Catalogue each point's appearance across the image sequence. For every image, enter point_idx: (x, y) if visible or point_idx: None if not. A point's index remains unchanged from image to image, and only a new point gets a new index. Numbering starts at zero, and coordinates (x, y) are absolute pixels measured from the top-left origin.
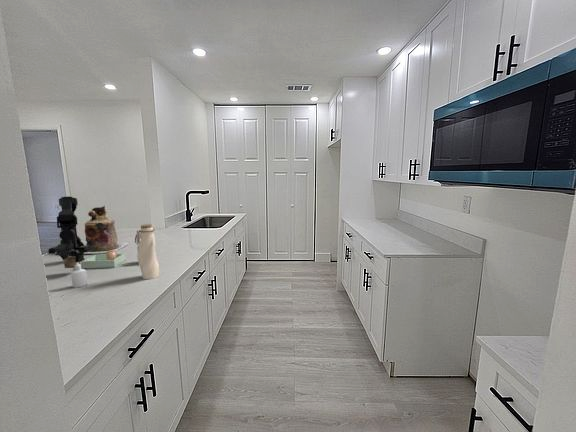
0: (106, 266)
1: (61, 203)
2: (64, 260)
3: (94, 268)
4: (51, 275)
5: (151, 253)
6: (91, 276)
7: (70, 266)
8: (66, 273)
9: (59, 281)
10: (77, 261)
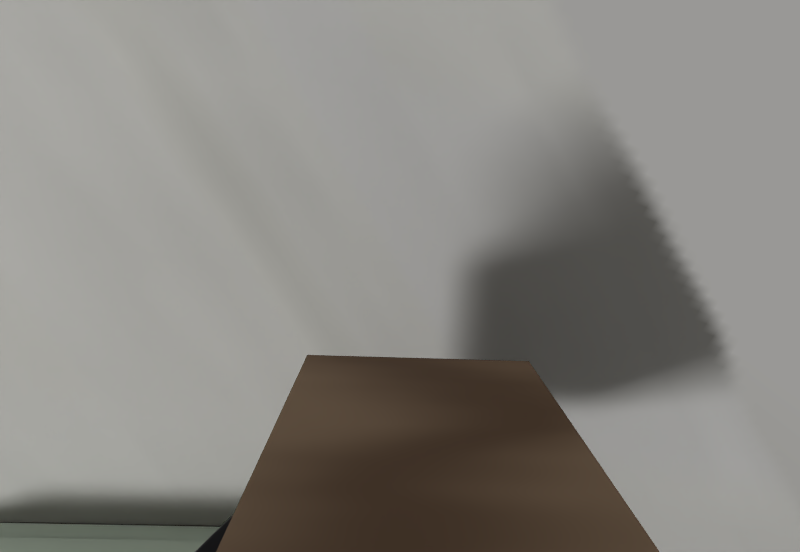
0: (31, 546)
1: None
2: (612, 528)
3: None
4: (710, 339)
5: None
6: (10, 182)
7: (401, 377)
8: None
9: (431, 2)
10: None
